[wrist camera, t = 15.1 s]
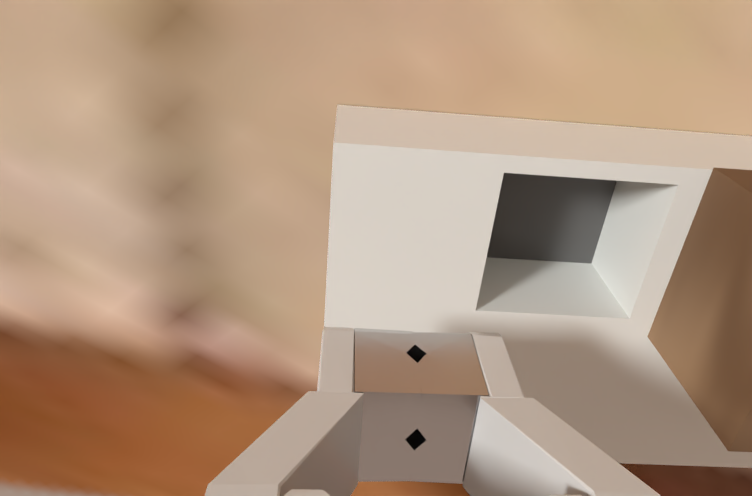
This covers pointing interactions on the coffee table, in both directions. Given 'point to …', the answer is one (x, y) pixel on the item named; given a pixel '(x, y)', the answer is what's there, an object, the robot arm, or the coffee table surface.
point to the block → (714, 309)
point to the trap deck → (531, 256)
